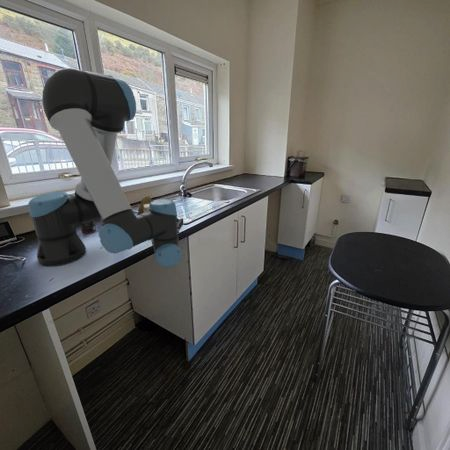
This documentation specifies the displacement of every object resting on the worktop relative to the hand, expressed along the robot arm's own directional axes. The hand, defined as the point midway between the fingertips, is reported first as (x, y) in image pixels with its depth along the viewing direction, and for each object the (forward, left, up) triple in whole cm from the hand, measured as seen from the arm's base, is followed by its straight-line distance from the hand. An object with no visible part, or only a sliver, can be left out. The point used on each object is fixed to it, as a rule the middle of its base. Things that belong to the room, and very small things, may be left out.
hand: (155, 218), depth 102 cm
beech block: (0, +10, -9) cm, 13 cm away
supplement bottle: (-29, +19, -10) cm, 36 cm away
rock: (-3, +38, -10) cm, 40 cm away
